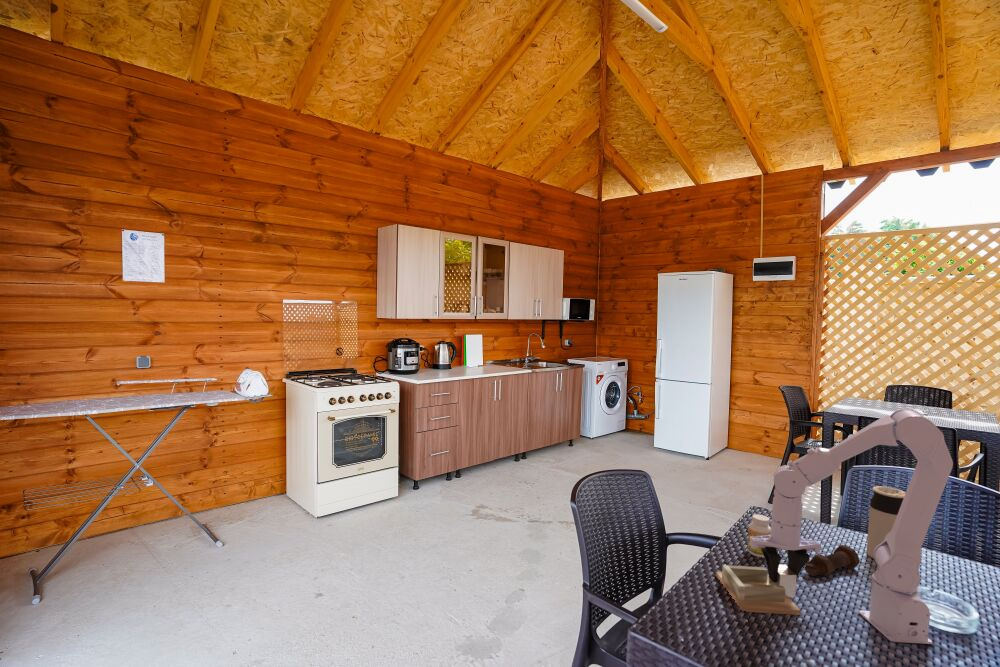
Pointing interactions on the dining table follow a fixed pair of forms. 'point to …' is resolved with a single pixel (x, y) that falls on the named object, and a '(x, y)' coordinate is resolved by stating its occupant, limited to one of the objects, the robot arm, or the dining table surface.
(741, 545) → the dining table surface
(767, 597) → the keeper cradle
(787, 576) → the link block
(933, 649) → the dining table surface
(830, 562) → the bolt
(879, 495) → the travel mug
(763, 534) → the supplement bottle
